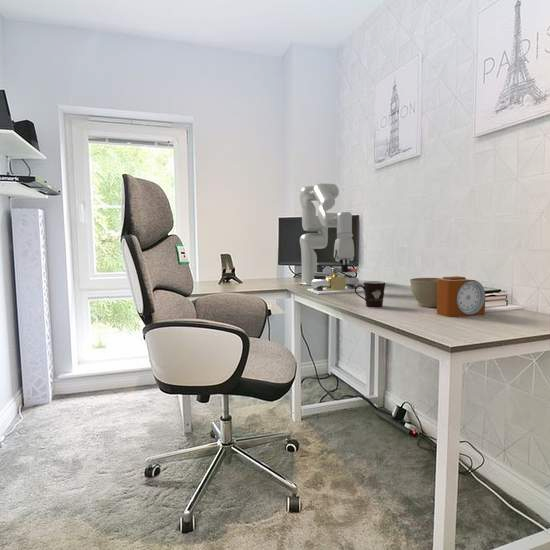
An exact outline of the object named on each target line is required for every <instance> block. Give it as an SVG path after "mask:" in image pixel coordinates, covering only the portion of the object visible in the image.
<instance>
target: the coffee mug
mask: <svg viewBox="0 0 550 550" xmlns="http://www.w3.org/2000/svg"><path fill="white" fill-rule="evenodd" d="M360 287H361V289H364V291H365V292H364V297H363V296H362V295H360V294H359V292H356V289H357V288H360ZM385 287H386V281H380V280H367V281H363V285H361V284H358V286H356V287H355V292H354V293H355V294H356V295H357V296H358V297H360V298H361V299H363V300H364V302H365V306H366V307H367V306H368V307H367V308H371V307H380V308H382V307H383V304H384V295H385Z"/></svg>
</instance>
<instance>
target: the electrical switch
mask: <svg viewBox="0 0 550 550" xmlns="http://www.w3.org/2000/svg"><path fill="white" fill-rule="evenodd" d="M326 276H331V273H330V272H318V271H317V272H316V273H315V275H314V279H315V280H320V279H325V278H326Z"/></svg>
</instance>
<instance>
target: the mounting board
mask: <svg viewBox="0 0 550 550" xmlns="http://www.w3.org/2000/svg"><path fill="white" fill-rule="evenodd" d="M307 290H308V292H309V291H311V292H310V293H312V292H314V293H313V294H315V293H317V294H316V295H318V294H320V295H332V294H333V295H334V294H335V293H336V294H349V293H355V289H350V288H347V286H346V287H345V290H328V289H326V288H323V291H316V290H313V288H307V289H306V291H307ZM356 292H357V293H365V291H364V289H363V288H360V287H358V288H357V289H356Z"/></svg>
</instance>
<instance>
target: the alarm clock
mask: <svg viewBox="0 0 550 550" xmlns="http://www.w3.org/2000/svg"><path fill="white" fill-rule="evenodd" d="M439 278H440V279H438V285H437V307H436V314H437V315H440V316H443V315H444V317H447V316H448V317H449V318H458V317H459V316H461V317H472V316H481V315H482V316H485V313H486V291H485V288H484V286H483V284H482V283H481V282H480V281H477V280H475V279H468V278H466V276H458V275H457V276H443V277H439Z"/></svg>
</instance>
